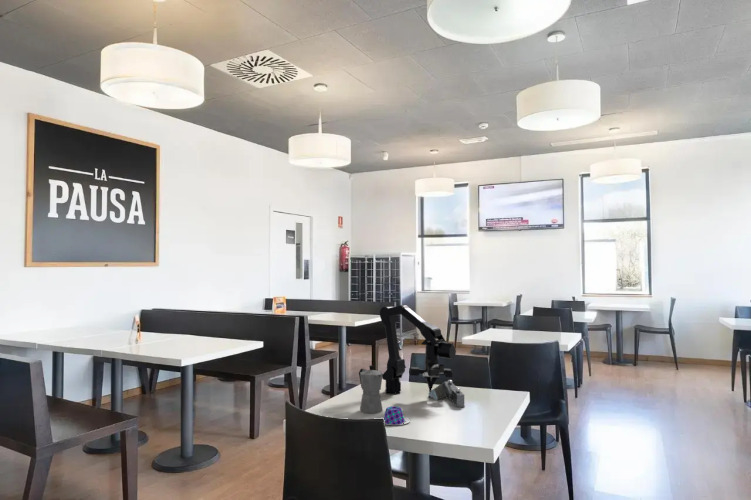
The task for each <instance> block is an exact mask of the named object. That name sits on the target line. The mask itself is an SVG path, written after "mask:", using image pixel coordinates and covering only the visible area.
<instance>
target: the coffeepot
mask: <svg viewBox="0 0 751 500" xmlns="http://www.w3.org/2000/svg"><path fill="white" fill-rule="evenodd" d="M368 367H369V369H364V368H360V370H359V372H358V375H359V383H360V388H361V389H362V395H361V402H360V408H359V410H360V412H361V413H363V414H369V415H372V414H373V415H374V414H380V413H381V412H383V410H384V409H383V405H382V398H381V394H380V390H381V388H382V384H383V383H382V381H383V377H382V376H383V374H384V373H383V372H382V371H381V370H374V365H372V364H371V365H368Z"/></svg>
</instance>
